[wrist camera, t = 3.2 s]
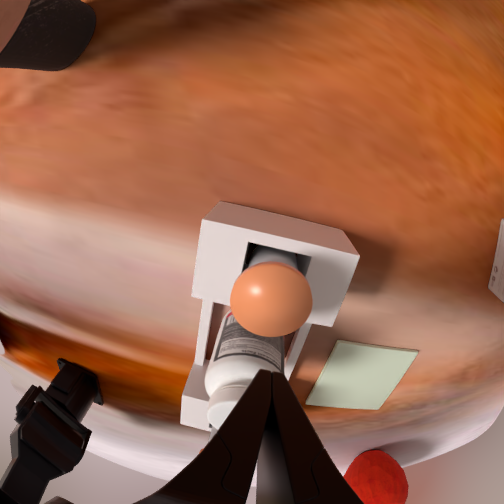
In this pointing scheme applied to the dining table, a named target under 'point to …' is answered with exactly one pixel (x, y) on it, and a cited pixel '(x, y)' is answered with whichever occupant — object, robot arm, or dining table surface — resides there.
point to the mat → (360, 375)
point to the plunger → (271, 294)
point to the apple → (377, 478)
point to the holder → (233, 264)
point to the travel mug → (44, 33)
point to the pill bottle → (237, 365)
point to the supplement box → (498, 267)
